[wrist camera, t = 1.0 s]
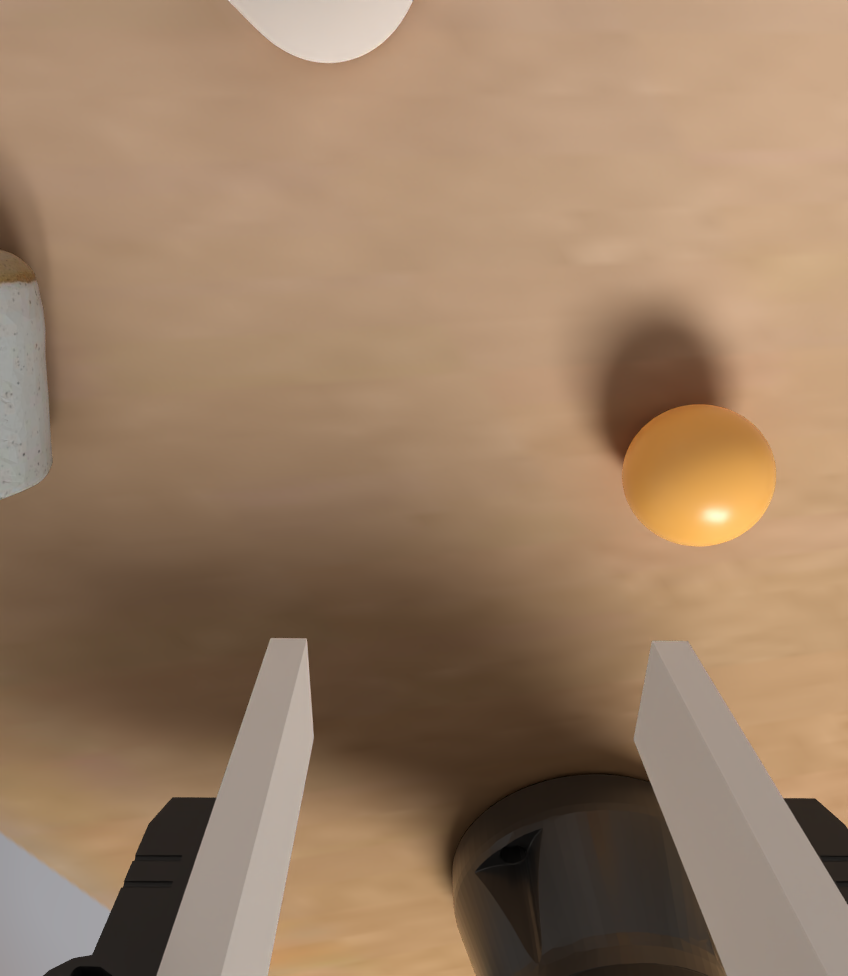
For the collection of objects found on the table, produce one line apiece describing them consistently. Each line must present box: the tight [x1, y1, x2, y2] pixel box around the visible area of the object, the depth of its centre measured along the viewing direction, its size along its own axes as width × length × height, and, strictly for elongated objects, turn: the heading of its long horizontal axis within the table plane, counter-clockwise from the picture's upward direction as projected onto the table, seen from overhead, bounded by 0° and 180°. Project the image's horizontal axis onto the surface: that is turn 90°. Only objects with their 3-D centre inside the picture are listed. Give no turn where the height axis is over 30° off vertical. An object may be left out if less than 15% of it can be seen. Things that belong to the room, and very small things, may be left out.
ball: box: [622, 404, 776, 546], centre depth 26 cm, size 6×6×6 cm
